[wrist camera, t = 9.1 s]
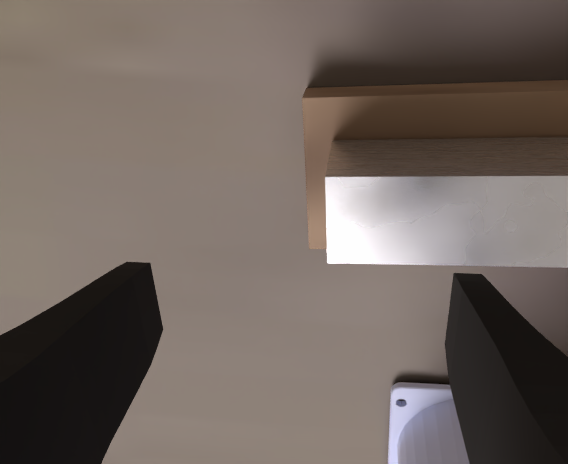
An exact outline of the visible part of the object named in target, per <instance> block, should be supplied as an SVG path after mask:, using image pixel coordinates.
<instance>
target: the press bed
mask: <svg viewBox="0 0 568 464" xmlns="http://www.w3.org/2000/svg"><path fill="white" fill-rule="evenodd" d="M302 105H303V126H304V148H305V170H306V191H307V213H308V234H309V249H327V229H326V193H325V175H326V169H327V164H328V159H329V153H330V148H331V143H332V140H389V139H454V138H519V137H568V80H547V81H514V82H482V83H449V84H416V85H383V86H351V87H318V88H306V90H305V93H304V95H303V97H302Z"/></svg>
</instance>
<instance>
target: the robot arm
mask: <svg viewBox="0 0 568 464" xmlns="http://www.w3.org/2000/svg"><path fill="white" fill-rule="evenodd" d="M162 331H163V326H162V321H161V316H160V311H159V306H158V300H157V295H156V290H155V285H154V280H153V275H152V270H151V264H150V263H141V262H126V263H124V264H122V265H120V266H118V267H116V268H115V269H113V270H111V271H110V272H108V273H106V274H105V275H103V276H101V277H100V278H98V279H97V280H95V281H93V282H92V283H90V284H89V285H87V286H85V287H84V288H82V289H81V290H79V291H77V292H76V293H74V294H73V295H71V296H69V297H68V298H66V299H65V300H63V301H61V302H60V303H58V304H56V305H55V306H53V307H51V308H49V309H48V310H46V311H44V312H42V313H41V314H39V315H37V316H35V317H34V318H32V319H30V320H28V321H27V322H25V323H23V324H21V325H19V326H18V327H16V328H14V329H12V330H10V331H8V332H6V333H4V334H2V335H0V464H101V463H102V460H103V458H104V456H105V454H106V452H107V450H108V447H109V445H110V443H111V441H112V439H113V437H114V435H115V433H116V431H117V429H118V428H119V426H120V424H121V422H122V420H123V418H124V416H125V414H126V412H127V410H128V408H129V406H130V405H131V403H132V401H133V399H134V397H135V395H136V393H137V391H138V389H139V387H140V385H141V383H142V381H143V379H144V377H145V375H146V374H147V371H148V369H149V367H150V365H151V363H152V360H153V358H154V355H155V352H156V349H157V346H158V343H159V340H160V337H161V334H162ZM445 349H446V359H447V368H448V376H449V383H450V385H445V384H426V383H407V382H399V383H396V384H394V385H393V386H392V387H391V397H390V420H389V443H388V464H568V357H567V356H566V355H565V354H563V353H562V352H561V351H560V350H559V349H558V348H556V347H555V346H554V345H553V344H552V343H551V342H549V341H548V340H547V339H546V338H545V337H544V336H543V335H542V334H540V333H539V332H538V331H537V330H536V329H535V328H534V327H533V326H532V325H531V324H530V323H529V322H528V321H527V320H526V319H525V318H524V317H523V316H522V315H521V314H520V313H519V312H518V311H517V310H516V309H515V308H514V307H513V306H512V305H511V304H510V303H509V302H508V301H507V300H506V299H505V298H504V297H503V296H502V295H501V294H500V293H499V292H498V291H497V289H496V288H495V287H494V286H493V285H492V284H491V283H490V282H489V281H488V280H487V279H486V278H485V277H484V276H483V275H482V274H463V273H454V275H453V283H452V291H451V299H450V307H449V315H448V323H447V331H446V340H445ZM398 399H404V401H399V400H398Z"/></svg>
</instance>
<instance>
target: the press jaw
mask: <svg viewBox="0 0 568 464" xmlns="http://www.w3.org/2000/svg"><path fill="white" fill-rule="evenodd" d="M325 193H326V229H327V263H354V264H405V265H456V266H507V267H558V268H568V137H519V138H454V139H389V140H332V143H331V148H330V153H329V159H328V164H327V169H326V175H325Z"/></svg>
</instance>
